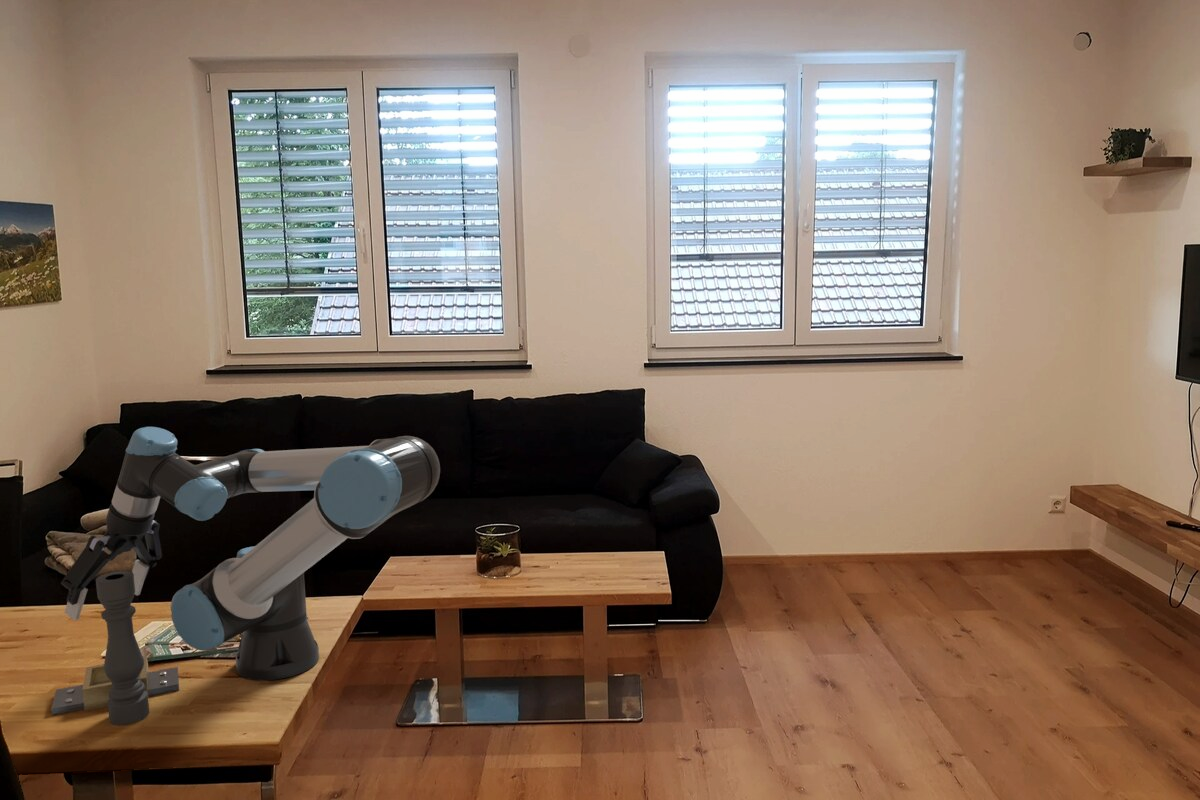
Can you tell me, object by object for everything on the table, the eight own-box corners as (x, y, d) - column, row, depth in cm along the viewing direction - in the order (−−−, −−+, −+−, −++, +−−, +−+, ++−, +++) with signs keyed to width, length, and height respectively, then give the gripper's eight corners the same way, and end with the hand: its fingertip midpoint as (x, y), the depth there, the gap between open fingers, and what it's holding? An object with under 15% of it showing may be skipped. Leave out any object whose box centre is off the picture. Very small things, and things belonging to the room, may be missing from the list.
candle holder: (138, 725, 156) (123, 583, 152) (101, 725, 156) (85, 583, 152) (156, 707, 162) (142, 570, 158) (121, 707, 162) (106, 570, 158)
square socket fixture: (178, 670, 176) (176, 650, 175) (179, 692, 167) (177, 671, 166) (57, 693, 168) (54, 673, 167) (51, 717, 159) (49, 696, 158)
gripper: (171, 482, 179) (142, 572, 185) (57, 514, 156) (28, 615, 162) (200, 501, 178) (170, 592, 183) (88, 536, 154) (58, 638, 160)
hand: (103, 603), depth 173 cm, fingers open, 13 cm apart
